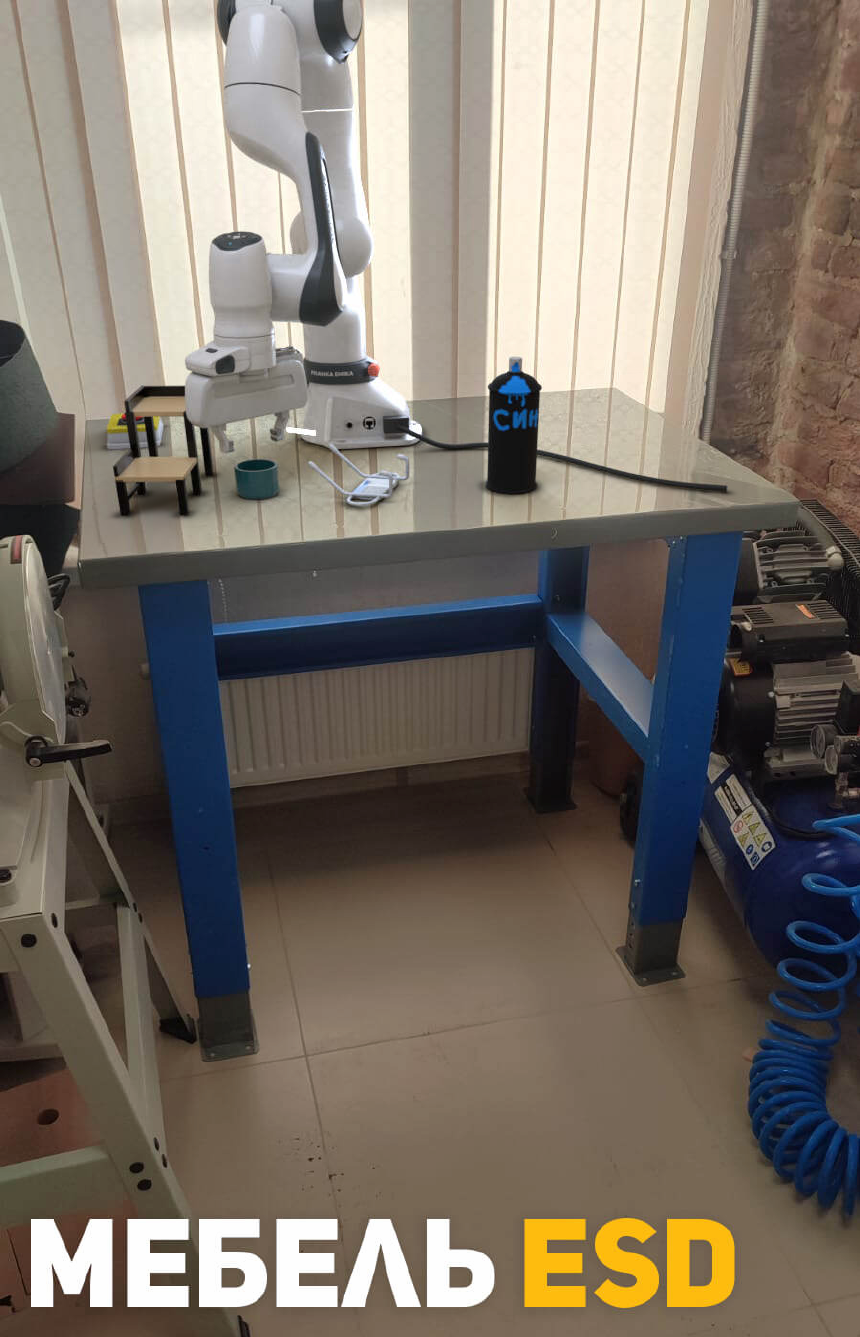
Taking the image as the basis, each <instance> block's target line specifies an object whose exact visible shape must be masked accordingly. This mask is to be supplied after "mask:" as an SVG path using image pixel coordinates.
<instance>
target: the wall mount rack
mask: <svg viewBox="0 0 860 1337" xmlns="http://www.w3.org/2000/svg"><path fill="white" fill-rule="evenodd" d="M328 449H329V450H330V451H331V452H332V453H334V454H336V455H337V456H338V457H339V458H340V459H341V460H342V461H343V462H345V463H346V464H347V465H348V467H350V468H351V469H352V470H353V471H355V472H356V473H357V474H358V476H360V477H361V478H364V480H363V481H362V482H361V483H360V484H359V485H358V486H357V487H356V488H355V489H353V491H352V492H350V491H345V490H344V489H343V488H341V487H340V486H339V485H338V484H337V483H336V482H334V481H333V480H332V479H331V478H330V477H329V476H328V475H326V474H325V472H323V471H322V470H321V469H320V468H319V467H318V466H317V464H315V463H314V462H313V461H311V460H310V461H308V462H307V466H308V467H309V468H310V469H312V470H313V471H314V472H316V473H318V474H319V475H320V477H322V478H324V480H325V481H327V483H329V484H330V485H331V486H332V487H333V488H335V489H336V490H337V491H338V492H339V493H340V494H342V495H344V496H347V498H346V503H347V504H348V505H350V506H354V507H367V506H371V505H375V504H376V503H378V502H379V501H380V500H383V499H388V498H391V497H392V496H393V493H394V492H393V491H394V490H393V489H394V488H395V487H396V486H397V485H398V482H399V481H407V480H408V479H409V478H410V459H409V457H408V456H406V454H401V453H398V454H397V455H396V458H397V459H398V460H402V461H405V476H400V474H398V473H396V472H390V471H388V470H382V469H381V470H380V471H379V472H376V473H373V474H365V473H363V472H362V470H360V469H359V468H357V467H356V466H355V465H354V464H353V463H352V462H351V461H350V460H349V459H348V458H347V457H346V456H345V455H344V454H342V453H341V451H339V449H337V448H336V447H335V446H333V445H332V444H330V445H329V448H328ZM352 499H356V500H367V501H364V502H361V501H360V502H357V501H352Z"/></svg>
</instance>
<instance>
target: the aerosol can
mask: <svg viewBox="0 0 860 1337" xmlns="http://www.w3.org/2000/svg"><path fill="white" fill-rule="evenodd" d="M487 389H488V390H489V391H488V392H489V393H488V401H489V402H488V434H487V436H488V438H487V443H488V448H487V474H486V475H487V479H486V482H485V487H486V489H488V491H491V492H493V493H498V494H504V495H521V494H522V495H523V494H528V493H530V492H533V491H534V490H536V489H537V488H538V483H537V482H536V480H537V464H538V462H537V461H538V455H537V449H538V442H539V441H538V439H539V422H540V421H539V418H540V417H539V416H540V400H541V398H540V397H541V391H542V389H543V386H542V385H541V384H540V383H539V382H538V380H537V379H536V378H535V377H534V376H532V375H531V374H529V373H527V372H524V371H523V357H522V356H509V358H508V370H507V371H506V372H503V373H501V374H499V375H497V376H496V377H495V378H493V380H492V381H491V382H490V383H489V384H488V385H487Z"/></svg>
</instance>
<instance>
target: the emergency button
mask: <svg viewBox="0 0 860 1337" xmlns="http://www.w3.org/2000/svg"><path fill="white" fill-rule="evenodd" d="M153 420H154V427H155V435H156V442H157V447H160V445H161V442H162V436H163V431H164V423H163V422H162V418H161V417H153ZM136 424H137V431H138V438H139V444H140V449H141V448H148V443H147V436H146V429H145V422H144V417H136ZM106 437H107V443H106V449H108V450H122V449H124V450H125V449H130V443H129V437H128V430H127V423H126V417H125V413H113V414H111V415H110V418H109V420H108V423H107V426H106Z"/></svg>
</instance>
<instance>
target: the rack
mask: <svg viewBox="0 0 860 1337" xmlns="http://www.w3.org/2000/svg"><path fill="white" fill-rule="evenodd" d="M124 409H125V417H126V423H127V430H128V437H129V443H130V448H128V450H127V451H126V452H125V453H124V454H123V455H122V456H120V458H119V459H118V460H117V461H116V462H115V463H114V464H113V465H112V470H113V476H114V483H115V489H116V494H117V501H118V507H119V508H118V509H119V513H120V514H119V515H120V516H123V517H129V516H130V515H131V513H132V511H131V506H130V501H131V499H132V498H133V497H134V495H135V494H136V495H137V496H145V495H146V494H147V486H146V485H147V484H146V483H175V490H176V497H177V505H178V513H179V516H182V517H183V516H187V517H188V515H189V514H190V506H189V499H188V492H187V484H186V479H187V477H188V476H189V474H190V481H191V487H192V495H193V496H201V495H202V494H203V488H202V480H201V471H200V470H201V469H200V463H199V455H198V447H197V446H198V445H197V439H196V429H195V425H193V424H192V423H191V422H190V421H189V420H188V418H187V415H186V405H185V385H140V386H139V387H138V388H137V389H136V390H135V391H134V392H133V393H131V394H130V395H129V396H128V397H127V398H126V399H125V400H124ZM136 417H144V422H145V429H146V436H147V443H148V447H147V450H148V456H142V452H141V448H140V444H139V438H138V431H137V424H136ZM153 417H160V418H161V417H162V418H163V417H169V418H170V417H183V424H184V432H185V439H186V440H185V441H186V448H187V456H159V449H158V446H157V442H156V435H155V427H154V420H153ZM199 434H200V443H201V451H202V460H203V467H204V468H203V469H204V477H213V476H214V475H215V473H214V463H213V455H212V454H213V453H212V445H211V436H210V427H209V428H201V427H199ZM127 483H134V484H133V485H132V486H131V487H130V489H128V488H127Z"/></svg>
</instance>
